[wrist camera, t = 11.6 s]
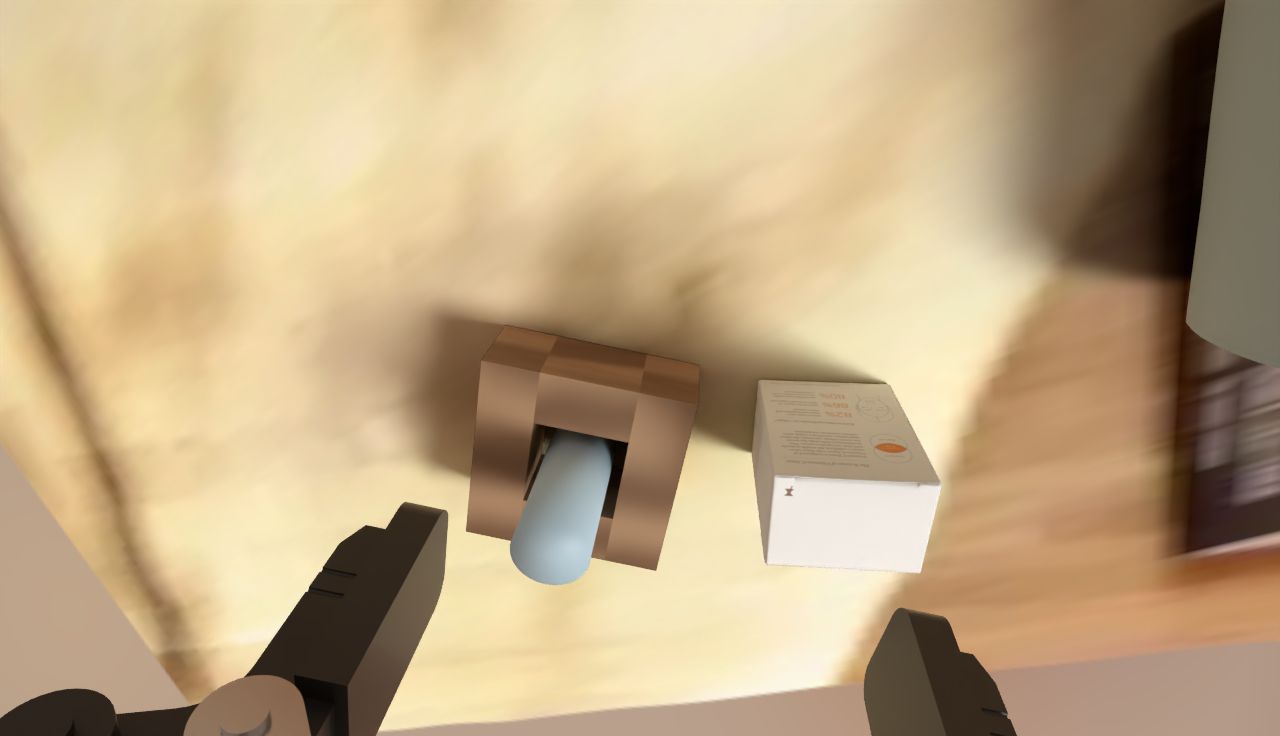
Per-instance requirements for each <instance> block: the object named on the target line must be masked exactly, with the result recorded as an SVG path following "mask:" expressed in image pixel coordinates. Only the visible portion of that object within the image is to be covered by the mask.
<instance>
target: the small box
mask: <svg viewBox="0 0 1280 736" xmlns="http://www.w3.org/2000/svg"><path fill="white" fill-rule="evenodd" d="M752 461H753V469H754V478H755V486H756V494H757V503H758V511H759V519H760V528H761V537H762V545H763V553H764V559H765V563H766V564H767V565H782V566H800V567H819V568H838V569H855V570H872V571H889V572H906V573H920V572H921V569H922V564H923V560H924V556H925V552H926V548H927V544H928V540H929V536H930V532H931V528H932V523H933V519H934V515H935V511H936V507H937V503H938V498H939V494H940V490H941V486H942V484H941V481H940V479H939V478H938V476H937V474H936V472H935V470H934V468H933V466H932V464H931V462H930V460H929V458H928V457H927V455H926V453H925V451H924V449H923V447H922V445H921V443H920V441H919V439H918V438H917V436H916V434H915V431H914V430H913V428H912V426H911V424H910V422H909V420H908V418H907V416H906V415H905V412H904V411H903V409H902V407H901V405H900V403H899V401H898V399H897V397H896V395H895V394H894V392H893V390H892V388H891V386H890V385H888V384H863V383H835V382H810V381H781V380H759V381H758V390H757V401H756V412H755V424H754V435H753V447H752Z"/></svg>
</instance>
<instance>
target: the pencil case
mask: <svg viewBox="0 0 1280 736" xmlns="http://www.w3.org/2000/svg"><path fill="white" fill-rule="evenodd" d="M1186 323H1187V324H1188V325H1189V327H1190V328H1191V329H1192V330H1193V331H1194V332H1195V333H1197V334H1198V335H1199V336H1201V337H1202V338H1203V339H1205V340H1207V341H1209V342H1211V343H1212V344H1214V345H1216V346H1218V347H1220V348H1222V349H1225V350H1227V351H1229V352H1231V353H1234V354H1236V355H1239V356H1242V357H1245V358H1247V359H1250V360H1253V361H1256V362H1258V363H1262V364H1266V365H1269V366H1273V367H1277V368H1280V0H1226V1H1225V8H1224V15H1223V22H1222V29H1221V37H1220V44H1219V52H1218V60H1217V68H1216V76H1215V85H1214V93H1213V101H1212V110H1211V119H1210V128H1209V137H1208V146H1207V155H1206V164H1205V174H1204V183H1203V192H1202V200H1201V209H1200V216H1199V224H1198V231H1197V239H1196V246H1195V254H1194V261H1193V269H1192V277H1191V285H1190V293H1189V301H1188V309H1187V318H1186Z"/></svg>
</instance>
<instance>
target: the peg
mask: <svg viewBox="0 0 1280 736" xmlns="http://www.w3.org/2000/svg"><path fill="white" fill-rule="evenodd" d="M617 443H618V440H613V439H608V438H604V437H599V436H594V435H589V434H584V433H579V432H575V431H570V430H565V429H560V428H556V429H555V431H554V434H553V436H552V439H551V442H550V444H549V447H548V449H547V452H546V454H545V457H544V459H543V462H542V464H541V467H540V469H539V472H538V474H537V477H536V479H535V482H534V485H533V487H532V490H531V492H530V495H529V497H528V500H527V502H526V505H525V507H524V510H523V512H522V515H521V517H520V520H519V522H518V525H517V527H516V530H515V533H514V535H513V538H512V540H511V544H510V554H511V557H512V560H513V562H514V564H515V565H516V567H517V568H518V569H519V570H520V571H521V572H522V573H523V574H525V575H526V576H527V577H529V578H531V579H533V580H535V581H537V582H540V583H544V584H549V585H562V584H567V583H570V582H573V581H575V580H577V579H578V578H580V577H581V576H582V575H583V574H584V573H585V572H586V570H587V568H588V566H589V563H590V559H591V555H592V551H593V546H594V542H595V538H596V533H597V529H598V525H599V520H600V516H601V512H602V508H603V503H604V499H605V495H606V490H607V486H608V482H609V477H610V473H611V469H612V465H613V460H614V456H615V452H616V447H617Z"/></svg>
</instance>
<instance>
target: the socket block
mask: <svg viewBox="0 0 1280 736" xmlns="http://www.w3.org/2000/svg"><path fill="white" fill-rule="evenodd" d="M698 391H699V365H696V364H691V363H686V362H682V361H677V360H672V359H667V358H662V357H657V356H652V355H648V354H643V353H638V352H633V351H628V350H623V349H618V348H614V347H609V346H604V345H599V344H594V343H589V342H584V341H580V340H575V339H570V338H565V337H560V336H555V335H550V334H546V333H541V332H536V331H531V330H526V329H521V328H516V327H512V326H507V325H505V327H504V328H503V330H502V331H501V333H500V334H499V335H498V337H497V338H496V340H495V341H494V343H493V344H492V346H491V347H490V348H489V350H488V351H487V353H486V354H485V356H484V357H483V359H482V360H481V369H480V380H479V391H478V403H477V414H476V425H475V436H474V447H473V459H472V470H471V481H470V492H469V504H468V515H467V526H466V532H471V533H476V534H481V535H486V536H490V537H495V538H500V539H505V540H510V541H511V540H512V538H513V535H514V533H515V530H516V527H517V525H518V522H519V520H520V517H521V515H522V512H523V510H524V507H525V505H526V502H527V500H528V497H529V495H530V492H531V490H532V487H533V485H534V482H535V479H536V477H537V474H538V472H539V469H540V467H541V464H542V462H543V459H544V457H545V455H541V453H542V446H543V439H544V432H545V426H550V427H555V428H560V429H565V430H570V431H575V432H579V433H584V434H589V435H594V436H599V437H604V438H608V439H613V440H618V441H623V442H628V448H627V453H626V458H625V462H624V467H623V471H618V470H613V469H611V473H610V477H609V482H608V486H607V490H606V495H605V499H604V503H603V508H602V512H601V516H600V520H599V525H598V529H597V533H596V538H595V542H594V546H593V551H592V555H591V557H592V558H597V559H602V560H607V561H611V562H616V563H621V564H626V565H631V566H636V567H641V568H645V569H650V570H655V571H656V569H657V565H658V561H659V557H660V553H661V549H662V545H663V541H664V537H665V533H666V529H667V525H668V521H669V517H670V513H671V510H672V506H673V502H674V498H675V494H676V490H677V486H678V482H679V478H680V474H681V470H682V466H683V462H684V458H685V454H686V450H687V446H688V443H689V439H690V435H691V431H692V427H693V423H694V419H695V415H696V411H697V407H698Z"/></svg>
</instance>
